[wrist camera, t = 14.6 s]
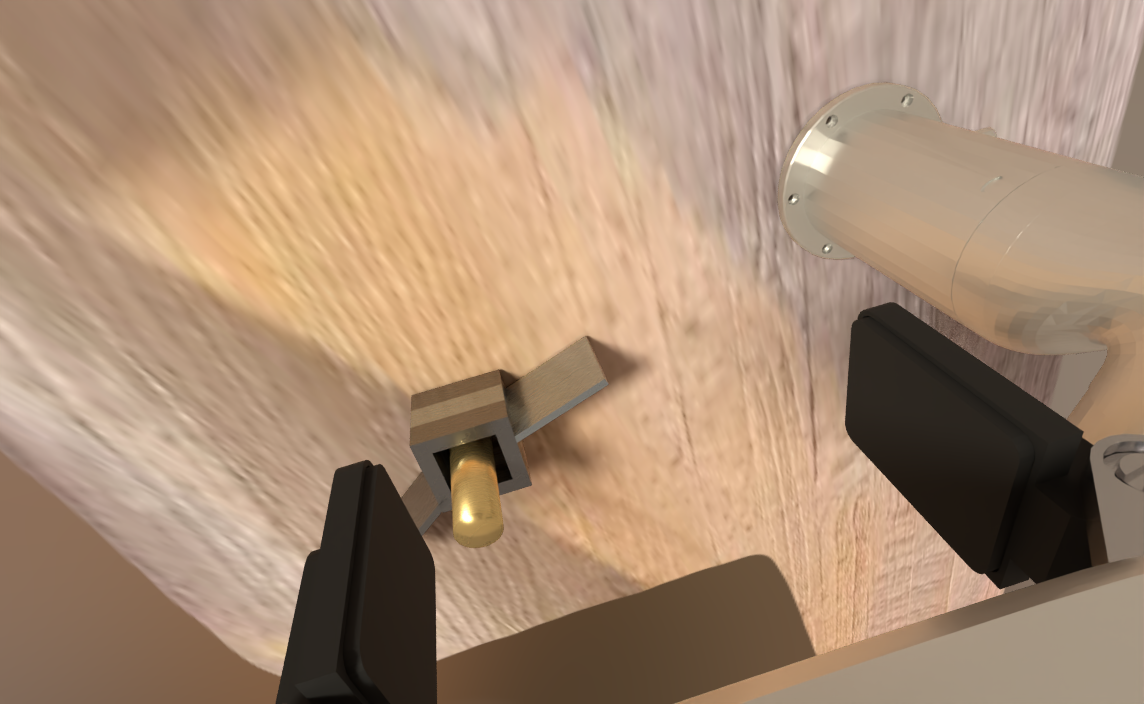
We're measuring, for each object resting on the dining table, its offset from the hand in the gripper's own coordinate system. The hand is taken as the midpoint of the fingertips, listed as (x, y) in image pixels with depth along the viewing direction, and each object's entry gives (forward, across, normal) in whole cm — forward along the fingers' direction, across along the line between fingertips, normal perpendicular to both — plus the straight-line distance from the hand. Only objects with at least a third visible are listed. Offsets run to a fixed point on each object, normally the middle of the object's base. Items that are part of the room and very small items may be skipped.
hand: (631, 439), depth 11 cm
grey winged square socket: (+30, +8, +23) cm, 39 cm away
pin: (+30, +8, +21) cm, 38 cm away
